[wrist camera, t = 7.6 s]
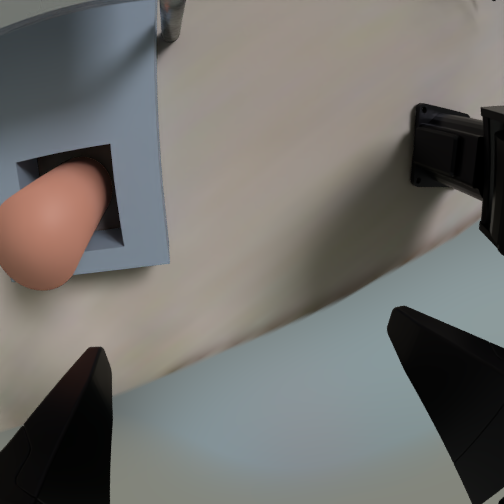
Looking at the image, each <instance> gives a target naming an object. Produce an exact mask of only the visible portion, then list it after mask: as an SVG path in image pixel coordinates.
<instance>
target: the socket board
mask: <svg viewBox="0 0 504 504" xmlns="http://www.w3.org/2000/svg"><path fill="white" fill-rule="evenodd" d="M156 44H157V0H143V1H135V2H127V3H120V4H114V5H108V6H103V7H98V8H93V9H88V10H83V11H79V12H75V13H70V14H66V15H63V16H59V17H55V18H52V19H48V20H45V21H42V22H38V23H35V24H32V25H29V26H26V27H23V28H20V29H18V30H15V31H12V32H9V33H7V34H4V35H2V36H0V206H1V204H2V203H3V202H4V201H5V200H7V199H8V198H9V197H11V196H12V195H14V194H15V193H17V192H18V191H20V190H21V189H22V188H24V187H26V186H27V185H29V184H30V183H32V182H33V181H35V180H36V179H38V178H39V177H40V176H39V170H38V163H37V157H42V156H46V155H51V154H56V153H60V152H65V151H71V150H76V149H81V148H87V147H93V146H99V145H105V144H111V154H112V164H113V173H114V182H115V189H116V197H117V204H118V211H119V217H120V223H121V228H114V229H107V230H99V231H94V233H93V235H92V237H91V239H90V241H89V243H88V245H87V247H86V249H85V251H84V253H83V255H82V257H81V259H80V262H79V264H78V266H77V268H76V270H75V272H74V274H73V275H78V274H86V273H95V272H103V271H112V270H120V269H128V268H137V267H145V266H153V265H162V264H170V257H169V238H168V230H167V221H166V212H165V202H164V192H163V181H162V169H161V156H160V141H159V124H158V101H157V52H156ZM10 278H11V277H10ZM11 281H12V282H16V281H14V280H13V279H12V278H11Z"/></svg>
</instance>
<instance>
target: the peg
mask: <svg viewBox="0 0 504 504" xmlns="http://www.w3.org/2000/svg"><path fill="white" fill-rule="evenodd" d="M112 189H113V188H112V181H111V178H110V175H109V173H108V172H107V170H106V169H105V168H104V166H103V165H102V164H100V163H99V162H98V161H96V160H94V159H92V158H89V157H75V158H72V159H70V160H68V161H66V162H64V163H62V164H61V165H59V166H57V167H56V168H54V169H52V170H51V171H49V172H47V173H46V174H44V175H43V176H41V177H39V178H38V179H36V180H35V181H33V182H32V183H30V184H29V185H27V186H26V187H24V188H22V189H21V190H20V191H18V192H17V193H15V194H14V195H12V196H11V197H9V198H8V199H7V200H5V201H4V202H3V203H2V204H1V206H0V265H1V267H2V268H3V270H4V271H5V272H6V273H7V274H8V275H9V276H10V277H11V278H12V279H13V280H14V281H16V282H17V283H19V284H21V285H23V286H25V287H27V288H30V289H34V290H51V289H55V288H57V287H59V286H61V285H63V284H64V283H66V282H67V281H68V280H69V279H70V278H71V276H72V275H73V274H74V272H75V270H76V268H77V266H78V264H79V262H80V259H81V257H82V255H83V253H84V251H85V249H86V247H87V245H88V243H89V241H90V239H91V237H92V235H93V233H94V231H95V230H96V228H97V226H98V224H99V222H100V220H101V218H102V216H103V215H104V213H105V211H106V209H107V207H108V206H109V203H110V201H111V198H112Z"/></svg>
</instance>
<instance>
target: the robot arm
mask: <svg viewBox="0 0 504 504" xmlns="http://www.w3.org/2000/svg"><path fill="white" fill-rule="evenodd" d="M422 108H423V112H422ZM481 116H483V121H482V120H477V119H473V118H470V117H469V115H468V114H465V113H461V112H457V111H453V110H450V109H446V108H441V107H437V106H433V105H429V104H424V103H419V104H418V105H417V107H416V123H415V138H414V151H413V161H412V171H411V184H412V185H414V186H416V187H451V188H454V189H456V190H459V191H461V192H463V193H465V194H468V195H470V196H472V197H474V198H477V199H479V200H481V201H482V214H481V221H480V224H479V230H480V231H481V232H482V233H483V234H484V235H485V236H486V237H487V238H488V239H489V240H490V241H491V242H492V243H493V244H494V245H495V246H496V247H497V248H498V251H499V252H500V253H501V254H502V255H503V256H504V106H491V107H481ZM416 179H417V181H416ZM387 332H388V335H389V337H390V340H391V342H392V344H393V346H394V348H395V350H396V353H397V355H398V357H399V359H400V362H401V364H402V366H403V368H404V370H405V372H406V374H407V376H408V378H409V379H410V381H411V383H412V385H413V386H414V388H415V390H416V392H417V394H418V395H419V397H420V399H421V401H422V403H423V405H424V406H425V408H426V410H427V412H428V414H429V416H430V418H431V420H432V422H433V423H434V425H435V427H436V429H437V431H438V433H439V435H440V437H441V439H442V441H443V443H444V445H445V447H446V449H447V451H448V453H449V455H450V457H451V459H452V461H453V462H454V466H455V468H456V470H457V472H458V474H459V476H460V478H461V480H462V482H463V485H464V487H465V489H466V491H467V493H468V496H469V498H470V500H471V502H472V504H482V503H484V502H485V501H486V500H488V499H489V498H490V497H492V496H493V495H494V494H496V493H497V492H498V491H500V490H501V489H502V488H503V487H504V348H502V347H500V346H498V345H495V344H493V343H489V342H488V341H486V340H483V339H481V338H479V337H477V336H474V335H472V334H470V333H467V332H465V331H462V330H460V329H458V328H456V327H453V326H451V325H449V324H446V323H444V322H442V321H440V320H437V319H435V318H432V317H430V316H428V315H425V314H423V313H421V312H418V311H416V310H414V309H411V308H409V307H407V306H400V307H395V308H394V309H393V310H392V313H391V316H390V320H389V323H388V326H387ZM112 425H113V410H112V372H111V367H110V364H109V362H108V359H107V356H106V353H105V351H104V349H103V348H102V347H89V348H88V349H87V350H86V351H85V352H84V353H83V354H82V356H81V357H80V358H79V359H78V360H77V361H76V362H75V364H74V365H73V366H72V367H71V368H70V369H69V370H68V372H67V373H66V374H65V375H64V376H63V377H62V379H61V380H60V381H59V382H58V383H57V384H56V386H55V387H54V388H53V389H52V390H51V391H50V393H49V394H48V395H47V396H46V397H45V399H44V400H43V401H42V402H41V403H40V405H39V406H38V407H37V408H36V409H35V411H34V412H33V413H32V414H31V416H30V417H29V418H28V419H27V421H26V422H25V423H24V426H22V427H21V428H20V429H19V430H18V432H17V433H16V434H15V435H14V437H13V438H12V439H11V440H10V442H9V443H8V444H7V445H6V446H5V447H4V448H3V450H2V451H1V452H0V504H110V462H111V440H112ZM498 504H504V497H503V498H502V499H501V500H500V501H499V503H498Z"/></svg>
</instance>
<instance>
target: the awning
mask: <svg viewBox="0 0 504 504" xmlns="http://www.w3.org/2000/svg"><path fill="white" fill-rule="evenodd" d="M135 1H143V0H0V36H2V35H4V34H7V33H9V32H12V31H15V30H18V29H20V28H23V27H26V26H29V25H32V24H35V23H38V22H42V21H45V20H48V19H52V18H55V17H59V16H63V15H66V14H70V13H75V12H79V11H83V10H88V9H93V8H98V7H103V6H108V5H114V4H120V3H127V2H135ZM185 2H186V0H160V15H161V30H162V38H163V39H164V40H165V41H167V42H173V41H175V40H177V39H178V37H179V35H180V29H181V23H182V18H183V12H184V7H185Z"/></svg>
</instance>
